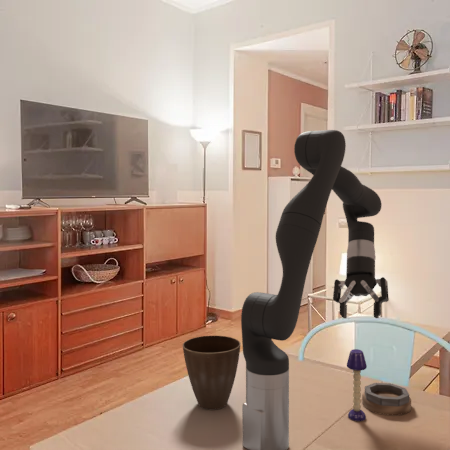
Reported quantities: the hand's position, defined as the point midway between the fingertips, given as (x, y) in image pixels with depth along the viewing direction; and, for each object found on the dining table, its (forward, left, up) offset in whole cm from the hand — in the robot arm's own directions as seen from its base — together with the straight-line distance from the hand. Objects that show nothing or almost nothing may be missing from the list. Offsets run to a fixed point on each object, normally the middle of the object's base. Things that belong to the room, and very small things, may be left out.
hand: (359, 317), depth 134 cm
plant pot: (-33, +21, -22) cm, 45 cm away
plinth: (+2, -7, -22) cm, 23 cm away
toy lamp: (-10, -7, -22) cm, 25 cm away
